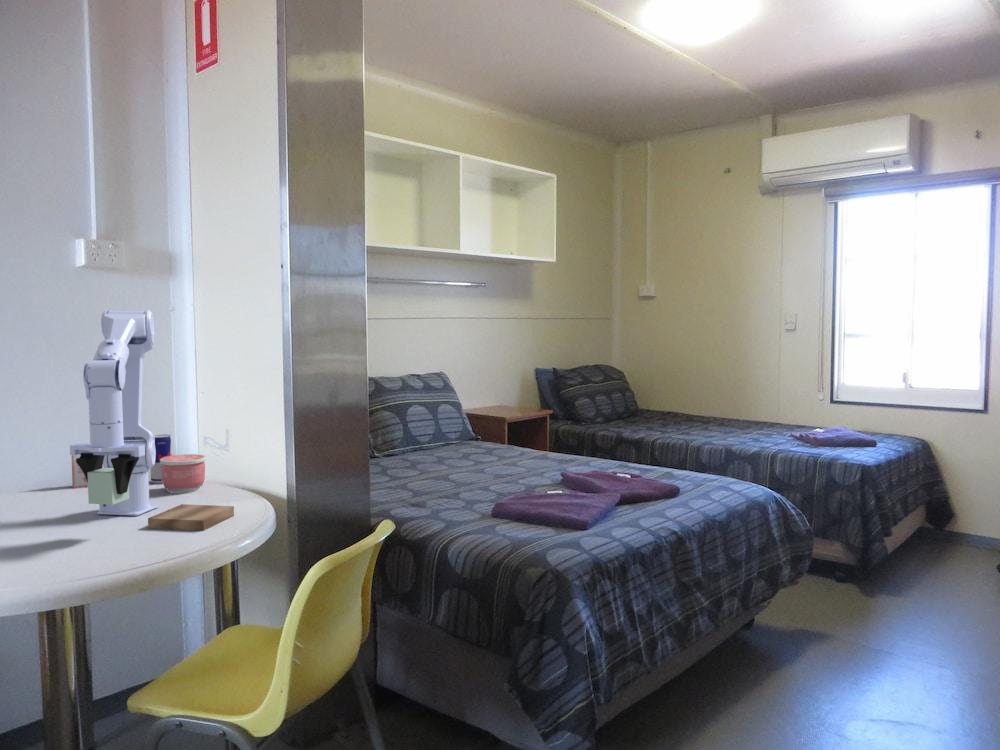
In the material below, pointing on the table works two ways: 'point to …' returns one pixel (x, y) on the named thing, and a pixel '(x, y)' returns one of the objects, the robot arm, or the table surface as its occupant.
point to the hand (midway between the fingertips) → (109, 492)
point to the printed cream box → (78, 474)
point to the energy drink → (161, 456)
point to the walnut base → (191, 517)
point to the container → (183, 472)
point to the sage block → (104, 487)
